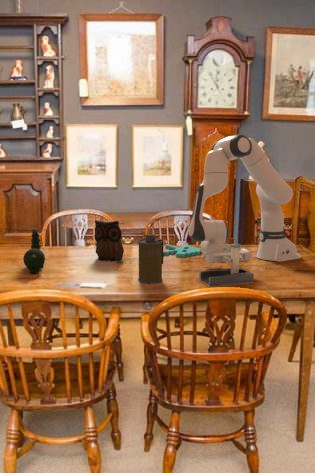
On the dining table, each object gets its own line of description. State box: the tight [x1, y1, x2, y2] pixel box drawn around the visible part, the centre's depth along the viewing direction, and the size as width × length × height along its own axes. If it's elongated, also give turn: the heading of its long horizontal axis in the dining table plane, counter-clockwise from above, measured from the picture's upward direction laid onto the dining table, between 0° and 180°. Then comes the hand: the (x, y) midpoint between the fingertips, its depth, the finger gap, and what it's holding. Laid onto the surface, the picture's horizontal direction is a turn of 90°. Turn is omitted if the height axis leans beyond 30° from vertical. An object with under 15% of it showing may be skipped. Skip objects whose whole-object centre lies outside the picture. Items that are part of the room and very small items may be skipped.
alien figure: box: [163, 243, 202, 258], centre depth 268 cm, size 20×2×20 cm
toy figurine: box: [22, 228, 46, 275], centre depth 233 cm, size 9×19×25 cm
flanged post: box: [230, 243, 241, 274], centre depth 217 cm, size 6×6×15 cm
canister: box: [137, 233, 164, 284], centre depth 217 cm, size 11×10×20 cm
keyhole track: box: [198, 266, 255, 288], centre depth 217 cm, size 20×12×4 cm, turn 109°
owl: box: [94, 219, 125, 263], centre depth 251 cm, size 13×13×20 cm
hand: (236, 260), depth 216 cm, fingers closed on flanged post, 3 cm apart
